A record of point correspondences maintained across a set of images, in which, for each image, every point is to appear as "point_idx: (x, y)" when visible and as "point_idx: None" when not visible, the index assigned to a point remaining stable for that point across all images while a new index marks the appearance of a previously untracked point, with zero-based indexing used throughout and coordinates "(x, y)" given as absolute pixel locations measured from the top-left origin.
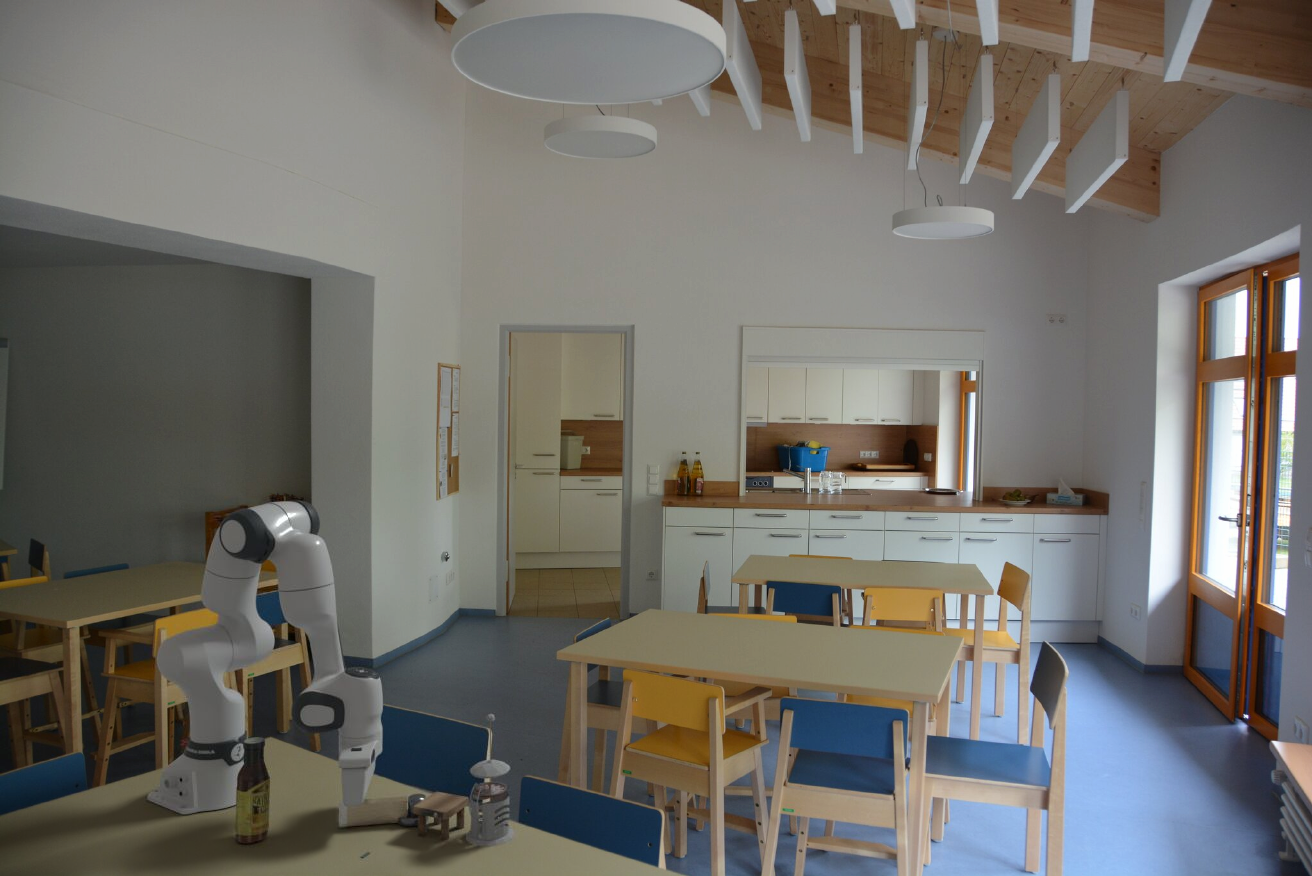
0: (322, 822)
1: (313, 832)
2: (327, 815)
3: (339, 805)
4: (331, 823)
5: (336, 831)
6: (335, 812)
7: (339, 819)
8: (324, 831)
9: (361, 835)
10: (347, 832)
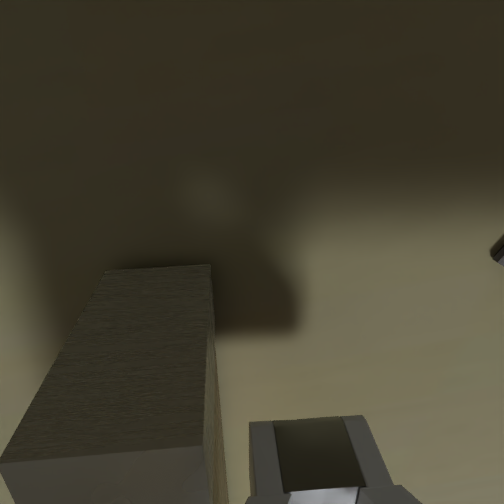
0: (281, 73)
1: (24, 13)
2: (444, 95)
3: (3, 466)
4: (242, 174)
5: (64, 251)
6: (485, 164)
7: (81, 318)
8: (58, 139)
9: (7, 426)
10: (50, 336)
